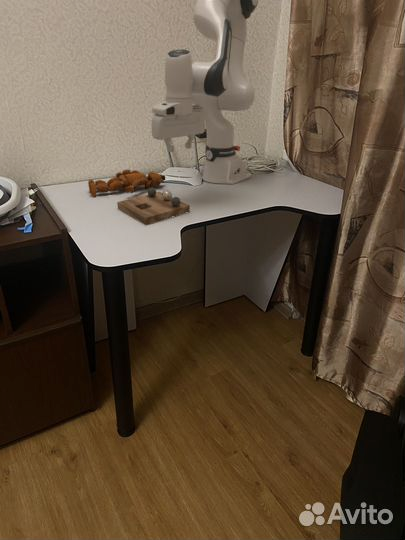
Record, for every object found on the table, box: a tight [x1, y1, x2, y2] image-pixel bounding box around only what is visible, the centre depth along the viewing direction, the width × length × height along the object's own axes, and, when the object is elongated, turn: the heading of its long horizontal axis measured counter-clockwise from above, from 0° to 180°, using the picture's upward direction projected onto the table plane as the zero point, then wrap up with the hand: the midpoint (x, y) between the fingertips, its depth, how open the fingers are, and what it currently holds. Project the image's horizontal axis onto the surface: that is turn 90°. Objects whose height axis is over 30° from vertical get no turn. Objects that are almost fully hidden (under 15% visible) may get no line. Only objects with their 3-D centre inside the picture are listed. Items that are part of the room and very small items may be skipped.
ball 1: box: [147, 187, 157, 196], centre depth 143 cm, size 3×3×3 cm
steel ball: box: [161, 190, 173, 200], centre depth 140 cm, size 4×4×4 cm
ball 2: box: [171, 196, 182, 206], centre depth 135 cm, size 3×3×3 cm
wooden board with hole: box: [116, 191, 190, 226], centre depth 138 cm, size 18×18×2 cm
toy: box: [87, 169, 166, 198], centre depth 155 cm, size 20×7×30 cm
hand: (179, 149), depth 136 cm, fingers open, 6 cm apart
